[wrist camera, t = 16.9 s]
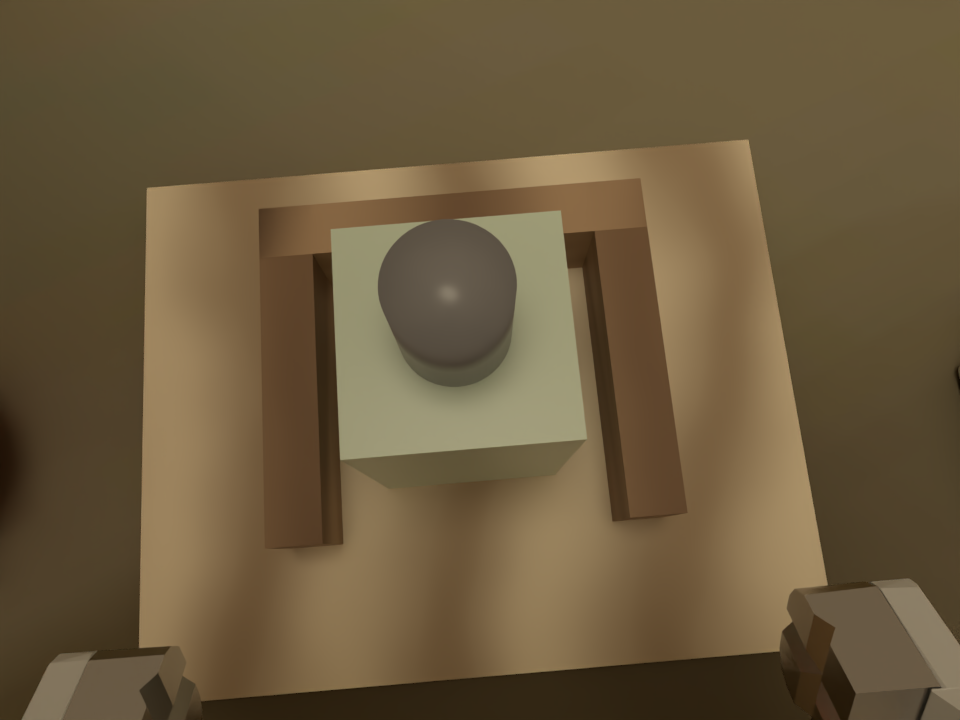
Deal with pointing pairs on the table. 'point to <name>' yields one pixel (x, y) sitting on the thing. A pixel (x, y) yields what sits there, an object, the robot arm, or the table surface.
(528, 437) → the sage bottle
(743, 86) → the table surface
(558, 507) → the u rest
